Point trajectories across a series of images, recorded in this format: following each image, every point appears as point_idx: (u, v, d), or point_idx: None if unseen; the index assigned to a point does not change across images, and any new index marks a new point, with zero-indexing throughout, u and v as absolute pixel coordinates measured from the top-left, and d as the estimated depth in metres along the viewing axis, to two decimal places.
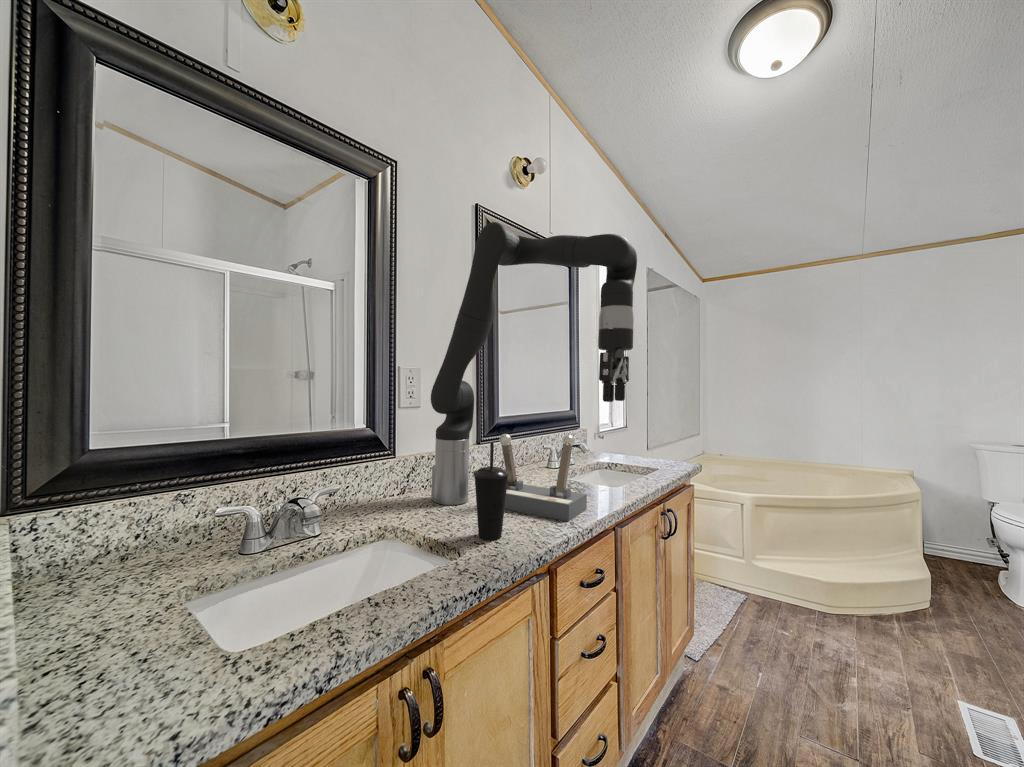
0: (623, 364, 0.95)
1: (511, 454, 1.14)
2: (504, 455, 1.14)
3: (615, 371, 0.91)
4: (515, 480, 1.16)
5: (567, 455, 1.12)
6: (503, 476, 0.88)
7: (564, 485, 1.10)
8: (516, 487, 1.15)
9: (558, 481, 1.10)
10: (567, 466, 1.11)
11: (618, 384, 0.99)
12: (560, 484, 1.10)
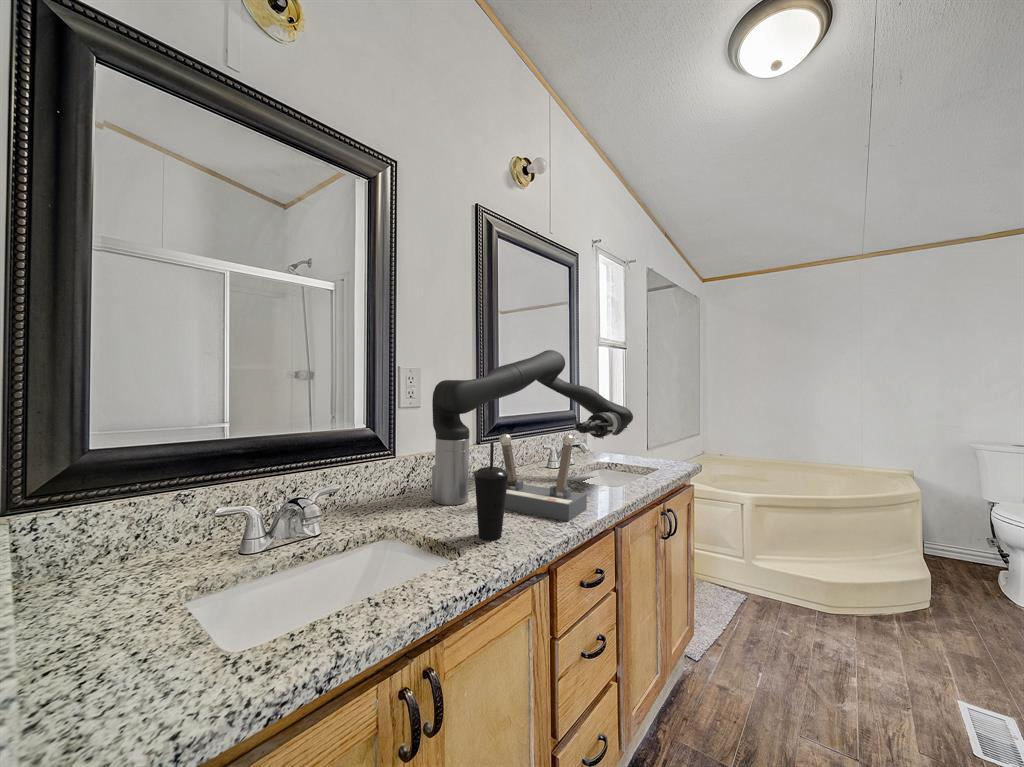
0: None
1: (511, 454, 1.14)
2: (504, 455, 1.14)
3: (595, 432, 1.26)
4: (515, 480, 1.16)
5: (567, 455, 1.12)
6: (503, 476, 0.88)
7: (564, 485, 1.10)
8: (516, 487, 1.15)
9: (558, 481, 1.10)
10: (567, 466, 1.11)
11: None
12: (560, 484, 1.10)
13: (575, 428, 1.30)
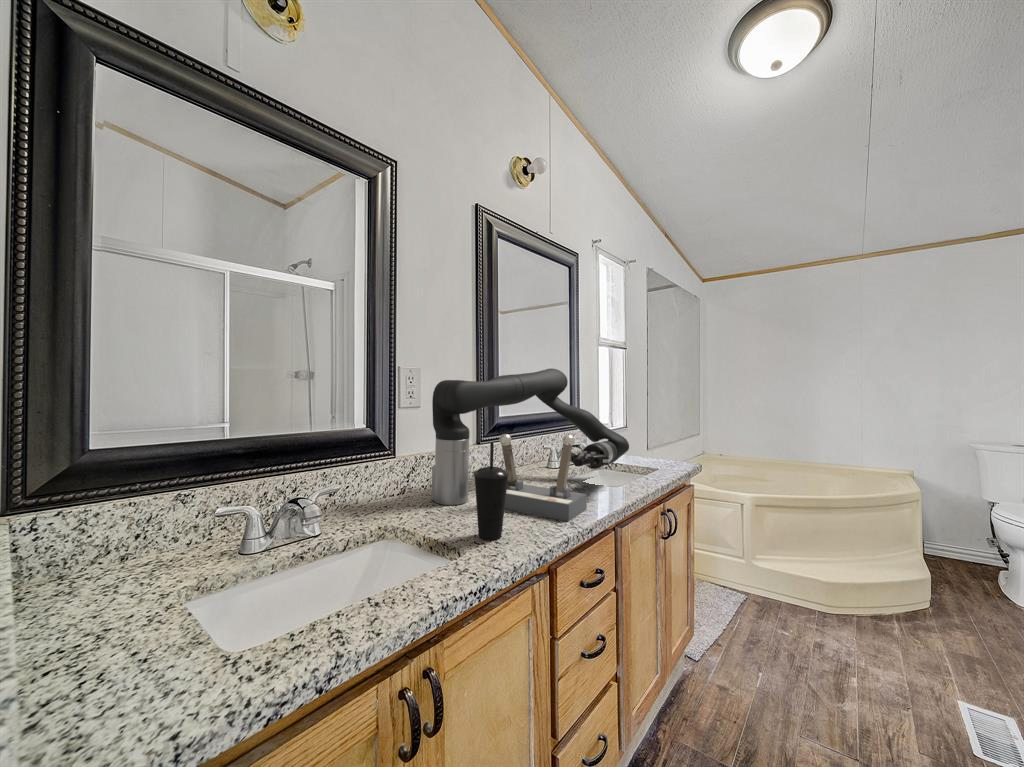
0: None
1: (511, 454, 1.14)
2: (504, 455, 1.14)
3: None
4: (515, 480, 1.16)
5: (567, 455, 1.12)
6: (503, 476, 0.88)
7: (564, 485, 1.10)
8: (516, 487, 1.15)
9: (558, 481, 1.10)
10: (567, 466, 1.11)
11: None
12: (560, 484, 1.10)
13: (570, 459, 1.28)
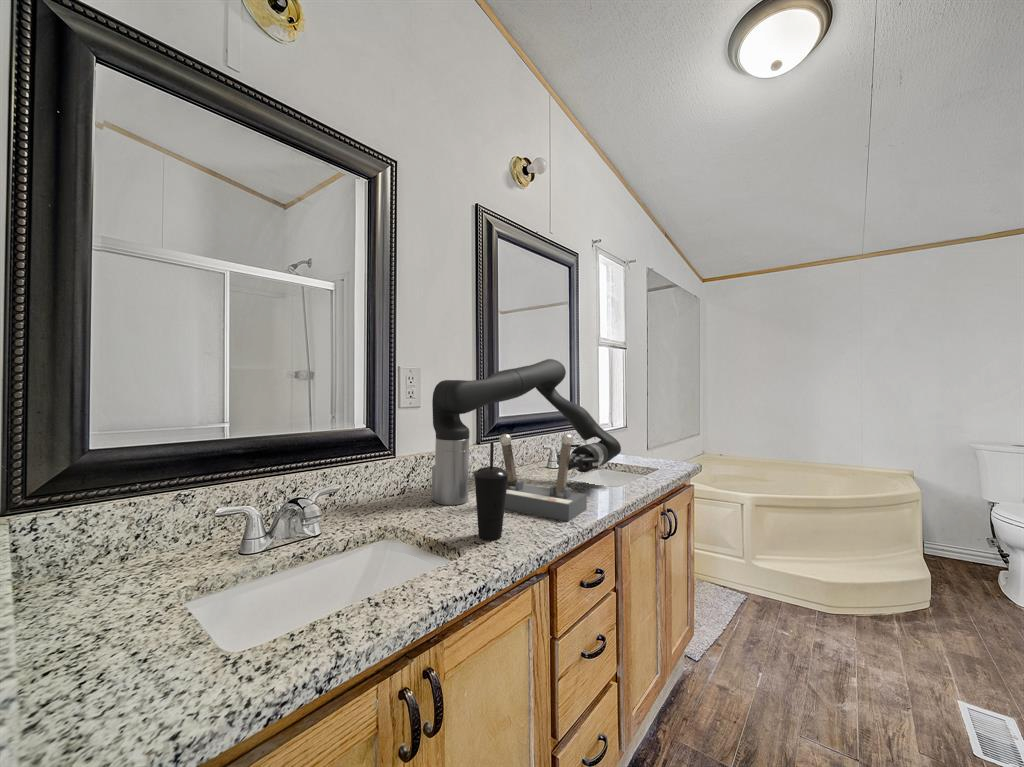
0: None
1: (511, 454, 1.14)
2: (504, 455, 1.14)
3: (579, 468, 1.17)
4: (515, 480, 1.16)
5: (566, 455, 1.11)
6: (503, 476, 0.88)
7: (564, 485, 1.10)
8: (516, 487, 1.15)
9: (558, 481, 1.10)
10: (566, 466, 1.11)
11: None
12: (560, 484, 1.10)
13: (558, 463, 1.21)
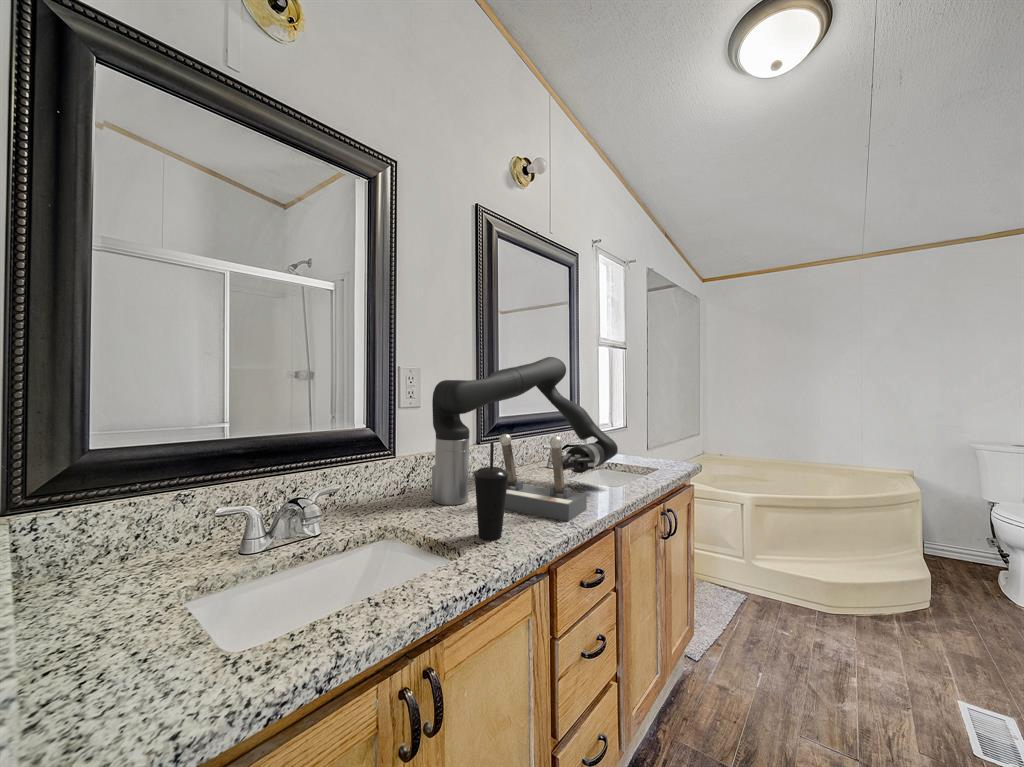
0: None
1: (511, 454, 1.14)
2: (504, 455, 1.14)
3: None
4: (515, 480, 1.16)
5: (558, 459, 1.07)
6: (503, 476, 0.88)
7: (562, 486, 1.09)
8: (516, 487, 1.15)
9: (555, 484, 1.09)
10: (561, 468, 1.08)
11: None
12: (558, 486, 1.09)
13: None
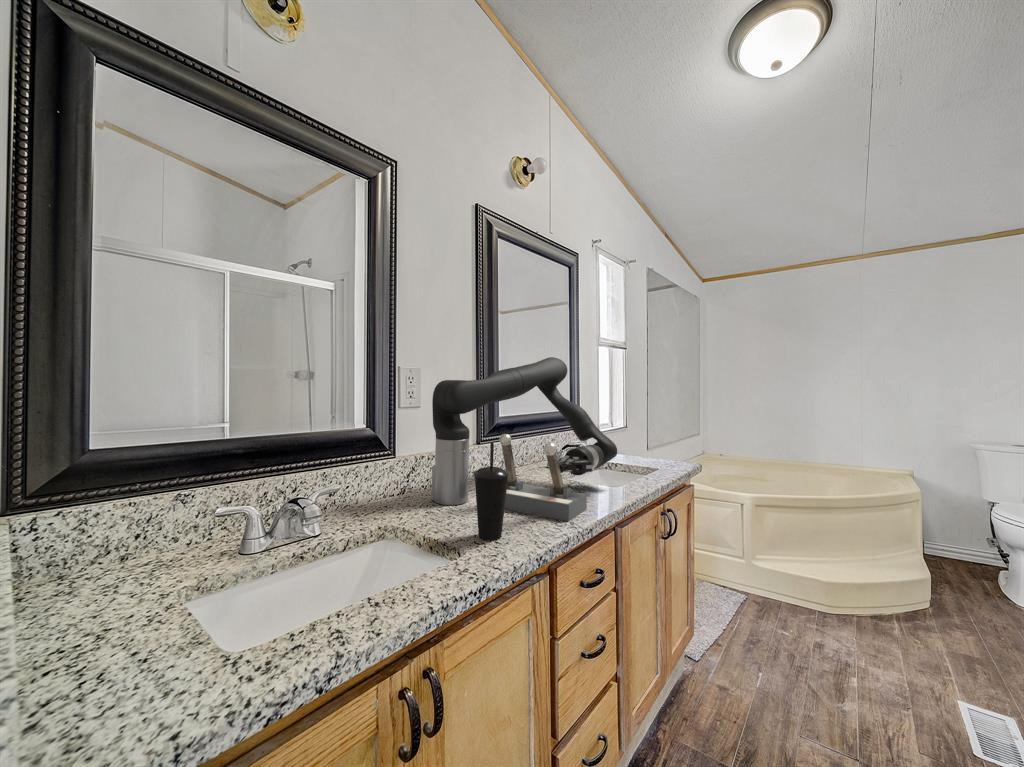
0: None
1: (511, 454, 1.14)
2: (504, 455, 1.14)
3: None
4: (515, 480, 1.16)
5: (554, 465, 1.05)
6: (503, 476, 0.88)
7: (562, 487, 1.08)
8: (516, 487, 1.15)
9: (555, 486, 1.09)
10: (558, 472, 1.06)
11: None
12: (557, 488, 1.09)
13: None
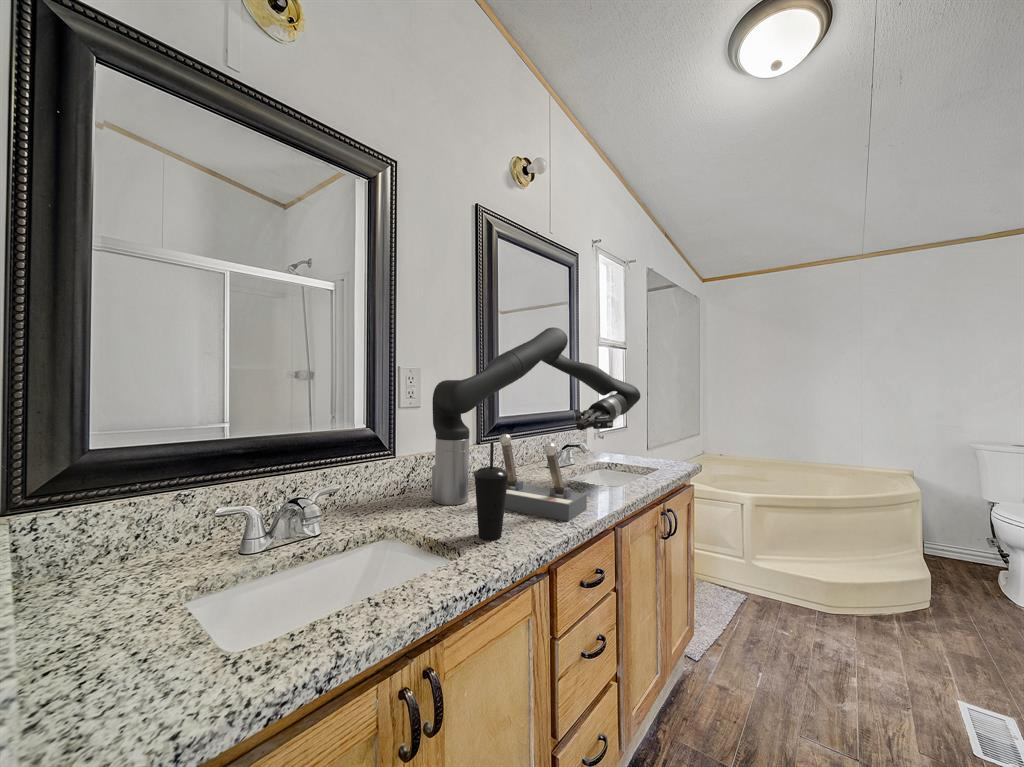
0: None
1: (511, 454, 1.14)
2: (504, 455, 1.14)
3: None
4: (515, 480, 1.16)
5: (554, 465, 1.05)
6: (503, 476, 0.88)
7: (562, 487, 1.08)
8: (516, 487, 1.15)
9: (555, 486, 1.09)
10: (558, 472, 1.06)
11: None
12: (557, 488, 1.09)
13: (575, 418, 1.27)
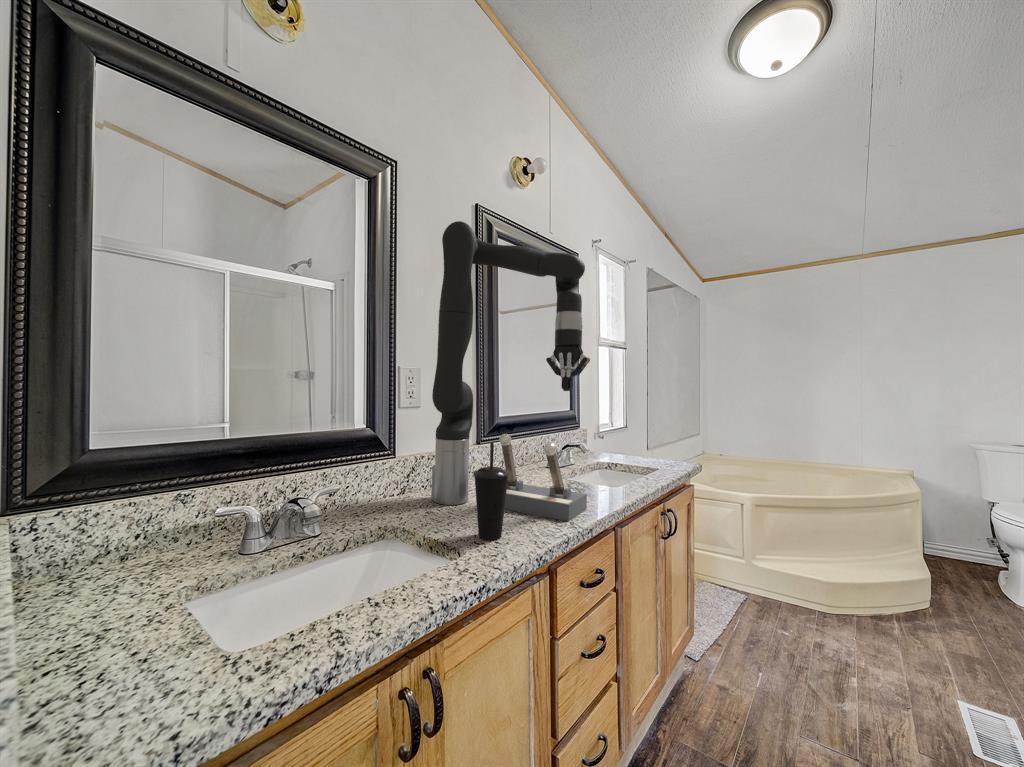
0: None
1: (511, 454, 1.14)
2: (504, 455, 1.14)
3: (574, 368, 1.20)
4: (515, 480, 1.16)
5: (554, 465, 1.05)
6: (503, 476, 0.88)
7: (562, 487, 1.08)
8: (516, 487, 1.15)
9: (555, 486, 1.09)
10: (558, 472, 1.06)
11: (566, 377, 1.20)
12: (557, 488, 1.09)
13: None
